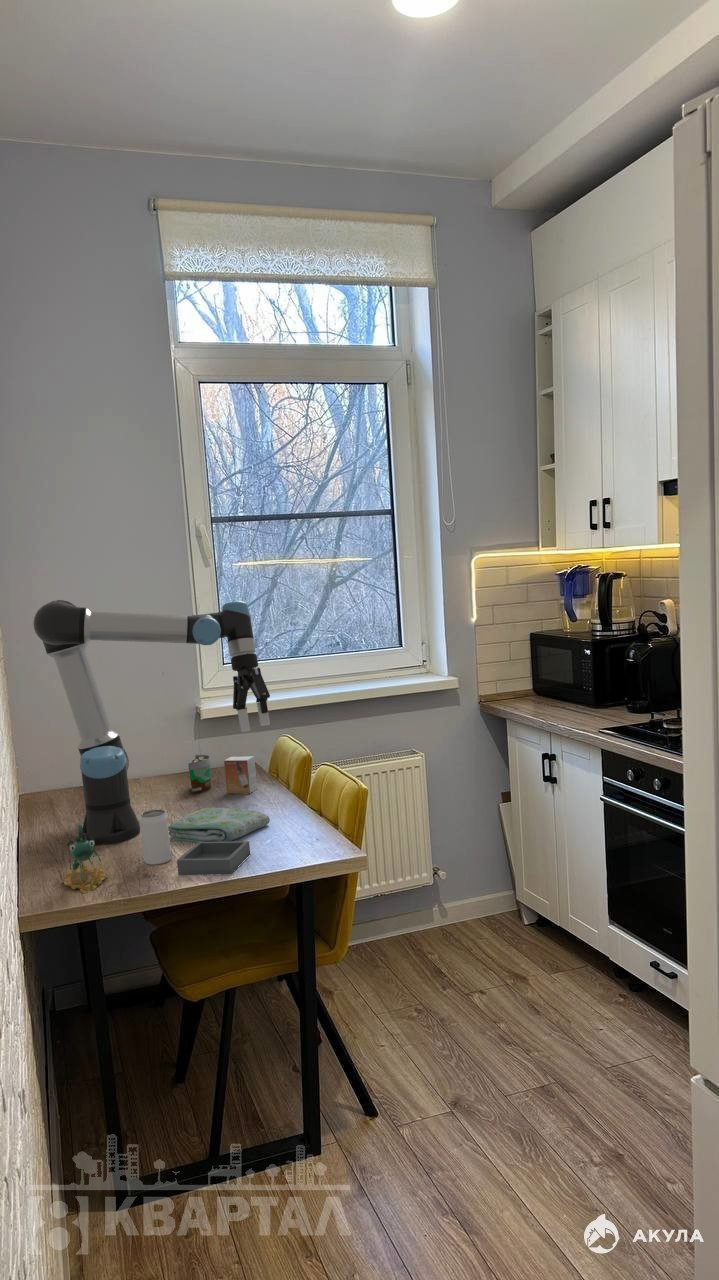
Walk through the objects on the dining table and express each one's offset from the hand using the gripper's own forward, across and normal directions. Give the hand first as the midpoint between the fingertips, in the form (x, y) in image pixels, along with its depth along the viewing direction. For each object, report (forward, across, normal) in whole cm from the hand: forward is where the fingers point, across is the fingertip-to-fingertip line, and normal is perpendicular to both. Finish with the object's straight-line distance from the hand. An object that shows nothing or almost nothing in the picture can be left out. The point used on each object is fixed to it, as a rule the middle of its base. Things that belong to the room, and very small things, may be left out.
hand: (255, 728), depth 262 cm
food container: (+14, +40, +2) cm, 42 cm away
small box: (+17, +27, -5) cm, 33 cm away
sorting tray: (+32, -28, +29) cm, 52 cm away
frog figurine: (+31, -15, +56) cm, 66 cm away
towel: (+27, -5, +18) cm, 32 cm away
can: (+30, -15, +38) cm, 51 cm away
